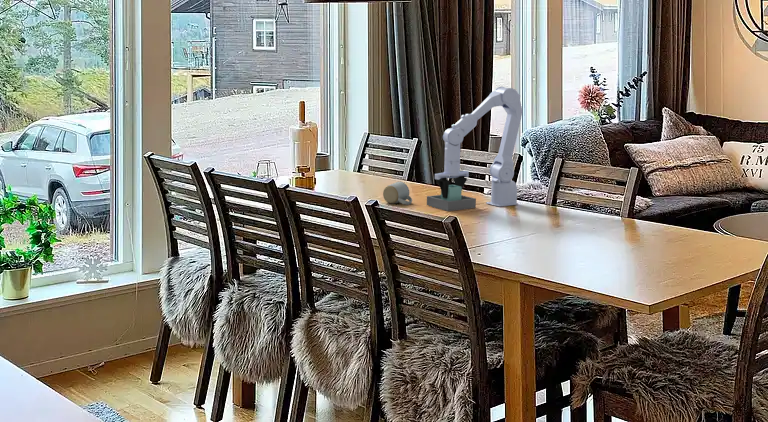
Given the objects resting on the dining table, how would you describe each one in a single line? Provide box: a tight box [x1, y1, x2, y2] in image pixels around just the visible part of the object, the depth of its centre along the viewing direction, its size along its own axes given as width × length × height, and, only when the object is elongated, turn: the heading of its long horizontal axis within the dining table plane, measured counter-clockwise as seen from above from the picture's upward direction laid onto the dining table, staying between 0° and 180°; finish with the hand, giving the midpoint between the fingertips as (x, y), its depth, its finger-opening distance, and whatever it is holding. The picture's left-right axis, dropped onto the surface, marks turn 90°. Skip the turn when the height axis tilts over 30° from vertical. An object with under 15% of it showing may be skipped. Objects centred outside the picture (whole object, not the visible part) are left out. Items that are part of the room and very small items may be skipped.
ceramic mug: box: [382, 181, 413, 206], centre depth 358 cm, size 11×8×8 cm
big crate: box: [426, 194, 477, 212], centre depth 352 cm, size 13×13×4 cm
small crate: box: [440, 184, 463, 201], centre depth 351 cm, size 5×5×6 cm
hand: (451, 197), depth 351 cm, fingers closed on small crate, 5 cm apart
